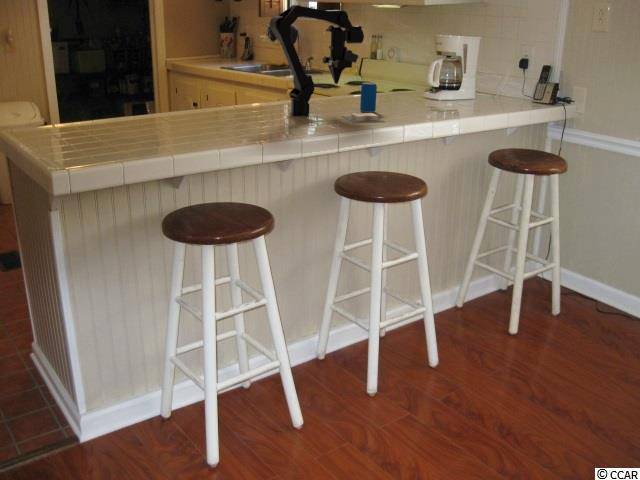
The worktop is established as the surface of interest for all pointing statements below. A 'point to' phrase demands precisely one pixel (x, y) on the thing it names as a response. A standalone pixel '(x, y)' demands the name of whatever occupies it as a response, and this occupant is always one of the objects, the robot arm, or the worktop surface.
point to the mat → (361, 121)
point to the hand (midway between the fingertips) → (336, 83)
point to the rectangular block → (364, 117)
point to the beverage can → (368, 97)
